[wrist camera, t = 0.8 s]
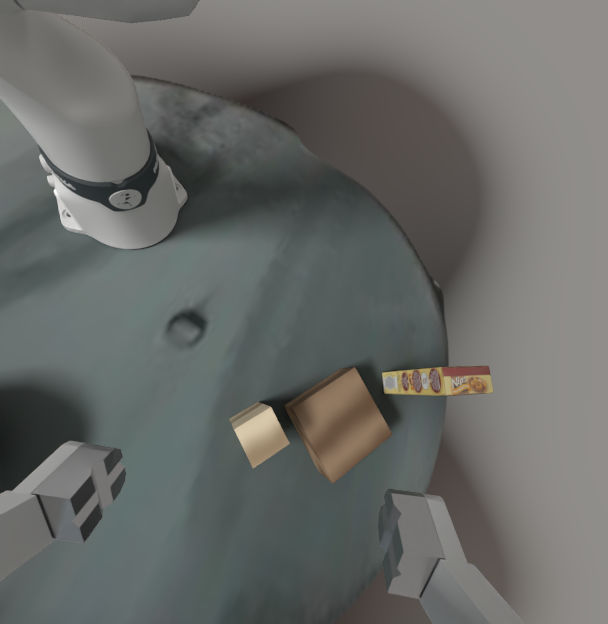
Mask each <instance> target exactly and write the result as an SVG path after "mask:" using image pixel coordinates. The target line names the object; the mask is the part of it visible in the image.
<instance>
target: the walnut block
mask: <svg viewBox="0 0 608 624" xmlns="http://www.w3.org/2000/svg"><path fill="white" fill-rule="evenodd" d="M284 407H285V409H286V411H287V413H288V415H289V417H290V419H291V420H292V422H293V424H294V426H295V428H296V430H297V432H298V433H299V435H300V437H301V439H302V441H303V443H304V445H305V447H306V448H307V450H308V452H309V454H310V456H311V458H312V460H313V462H314V463H315V465H316V467H317V469H318V471H319V472H320V473H321V474H322V475H323V476H324V477H326V478H327V479H328V480H329V481H331V482H332V483H334V482H336V481H337V480H338V479H339V478H340V477H342V476H343V475H344V474H345V473H346V472H348V471H349V470H350V469H351V468H352V467H354V466H355V465H356V464H357V463H358V462H360V461H361V460H362V459H363V458H364V457H366V456H367V455H368V454H369V453H370V452H372V451H373V450H374V449H375V448H376V447H378V446H379V445H380V444H381V443H383V442H384V441H385V440H386V439H387V438H389V437H390V436H391V435H392V433H391V431H390V429H389V427H388V425H387V424H386V422H385V420H384V418H383V416H382V415H381V413H380V411H379V409H378V407H377V406H376V404H375V402H374V400H373V399H372V397H371V395H370V393H369V391H368V390H367V388H366V386H365V384H364V382H363V381H362V379H361V377H360V375H359V373H358V372H357V370H356V368H355V367H353V368H344V369H339V370H338V371H336V372H335V373H333V374H332V375H330V376H329V377H327V378H326V379H324V380H322V381H321V382H319V383H318V384H316V385H315V386H313V387H312V388H310V389H309V390H307V391H306V392H304V393H302V394H301V395H299V396H298V397H296V398H295V399H293V400H292V401H290V402H289V403H287V404H285V405H284Z"/></svg>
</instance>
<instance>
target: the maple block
mask: <svg viewBox="0 0 608 624" xmlns="http://www.w3.org/2000/svg"><path fill="white" fill-rule="evenodd" d="M229 420H230V422H231V424H232V426H233V428H234V430H235V432H236V434H237V436H238V438H239V440H240V442H241V445H242V447H243V449H244V451H245V453H246V455H247V457H248V459H249V461H250V463H251V465H252V467H253V468H254V467H256V466H257V465H259V464H260V463H262V462H263V461H265V460H266V459H268V458H269V457H271V456H272V455H274V454H275V453H277V452H278V451H279V450H281V449H282V448H284V447H285V446H287V445H288V444H290V443H289V441H288V439H287V437H286V436H285V434H284V432H283V430H282V428H281V426H280V424H279V422H278V420H277V418H276V416H275V414H274V412H273V410H272V408H271V407H270V406H267V405H265V404H262V403H260V402H257V403H255V404H254V405H252V406H250V407H249V408H247V409H245V410H243V411H242V412H240V413H238V414H237V415H235V416H233V417H231V418H230V419H229Z"/></svg>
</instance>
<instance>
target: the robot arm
mask: <svg viewBox="0 0 608 624" xmlns="http://www.w3.org/2000/svg"><path fill="white" fill-rule="evenodd" d="M198 2H199V0H0V99H1V100H2V101H3V102H4V103H5V104H6V105H7V106H8V108H9V109H10V110H11V111H12V112H13V113H14V115H15V116H16V117H17V118H18V119H19V121H20V122H21V123H22V124H23V125H24V127H25V128H26V129H27V130H28V132H29V133H30V134H31V135H32V137H33V138H34V139H35V141H36V142H37V143H38V146H39V149H40V152H41V155H39V158H40V161H41V164H42V166H43V167H44V169H45V170H46V172H49V173H51V172H52V175H50V176H47V179H48V182H49V184H50V185H51V186H52V187H55V190H54V194H55V195H56V197H57V202H58V208H59V213H60V218H61V222H62V224H63V226H64V227H65V228H66V229H67V230H69V231H72V232H75V233H81V234H86V235H89V236H91V237H93V238H95V239H97V240H98V241H100V242H102V243H104V244H106V245H109V246H112V247H116V248H122V249H139V248H144V247H148V246H151V245H154V244H156V243H158V242H159V241H161V240H163V239H164V238H165V237H166V236H167V235H168V234H169V233H170V232H171V231H172V229H173V228H174V226H175V224H176V221H177V216H178V212H179V210H180V208H181V207H182V206H183V205H184V204H185V202H186V201H187V198H188V196H187V193H186V191H185V189H184V188H183V187H182V185H181V184H180V183H179V182H178V180H177V179H176V178H175V176H174V175H173V174H172V171H171V168H170V167H169V166H167V165H166V164H165V162H164V161H163V160H162V159H161V157H160V156H159V155H158V154H157V150H156V146H155V144H154V143H153V140H152V137H151V135H150V133H149V131H148V130H147V128H146V125H145V122H144V118H143V114H142V110H141V106H140V102H139V98H138V94H137V90H136V87H135V85H134V82H133V80H132V78H131V77H130V75H129V74H128V72H127V70H126V69H125V68H124V66H123V65H122V64H121V63H120V61H119V60H118V59H117V58H116V57H115V55H114V54H113V53H112V52H111V51H110V50H109V49H108V48H107V47H106V46H105V45H104V44H103V43H102V42H100V41H99V40H98V39H96V38H95V37H94V36H92V35H91V34H89V33H88V32H86V31H85V30H83V29H81V28H80V27H78V26H76V25H74V24H73V23H71V22H69V21H68V20H66V19H64V18H62V17H61V16H59V15H58V14H66V15H74V16H81V17H89V18H97V19H104V20H111V21H119V22H126V23H138V22H147V21H158V20H165V19H171V18H178V17H185V16H189V15H190V14H191V13H192V11H193V10H194V9H195V7H196V5H197V4H198ZM56 13H58V14H56ZM176 189H178V190H176ZM69 215H70V216H71V217H68V216H69ZM122 457H123V456H122V453H121V449H117V448H111V447H105V446H99V445H94V444H88V443H82V442H76V441H68V442H66V443H64V444H62V445H61V446H60V447H59V448H58V449H57V450H56V451H55V452H54V453H53V454H51V455H50V456H49V457H48V458H47V459H46V460H45V461H44V462H43V463H42V464H41V465H40V466H39V467H37V468H36V469H35V470H34V471H33V472H32V473H31V474H30V475H29V476H28V477H27V478H26V479H24V480H23V481H22V482H21V483H20V484H19V485H18V486H17V487H16V488H15V489H14V490H13V491H5V492H3V493H1V494H0V581H1V580H3V579H4V578H5V577H7V576H8V575H9V574H11V573H12V572H13V571H15V570H16V569H17V568H19V567H20V566H21V565H23V564H24V563H25V562H27V561H28V560H29V559H31V558H32V557H33V556H35V555H36V554H37V553H39V552H40V551H41V550H43V549H44V548H45V547H46V546H48V545H49V544H50V543H52V542H53V541H54V540H53V539H57V540H65V541H73V542H80V543H85V541H86V540H87V538H88V537H89V536H90V534H91V533H92V531H93V530H94V528H95V527H96V526H97V524H98V523H99V521H100V520H101V519H102V513H103V508H105V507H106V506H108V505H109V504H111V503H112V502H114V500H115V499H116V497H117V496H118V494H119V493H120V491H121V489H122V486H123V484H124V482H125V475H126V472H125V467H124V466H123V465H122V464H121V463H120V462H119V461H120V460H121V458H122ZM384 498H385V504H384V505H383V506H381V509H380V512H379V521H378V530H379V539H380V544H381V546H382V547H383V549H384V550H385V552H386V555H385V557H384V560H383V567H384V573H385V580H386V587H387V592H388V593H391V594H397V595H402V596H407V597H412V598H417V599H420V603H421V605H422V606H423V608H424V610H425V611H426V613H427V615H428V617H429V618H430V620H431V622H432V623H433V624H525V623H524V622H523V621H522V620H521V619H520V618H519V616H518V615H517V614H516V613H515V612H514V611H513V609H512V608H511V607H510V606H509V605H508V604H507V603H506V601H505V600H504V599H503V598H502V597H501V596H500V595H499V594H498V592H497V591H496V590H495V589H494V588H493V586H491V584H490V583H489V582H488V581H487V580H486V578H484V576H483V575H482V574H481V573H480V572H479V570H478V569H477V568H476V567H475V566H474V565H473V564H469V563H467V561H466V559H465V556H464V553H463V550H462V548H461V545H460V543H459V540H458V537H457V535H456V532H455V529H454V527H453V524H452V521H451V519H450V516H449V513H448V511H447V508H446V505H445V503H444V500H443V499H442V498H441V497H440V496H434V495H426V494H421V493H417V492H409V491H402V490H394V489H388V490H387V491H386V493H385V496H384Z"/></svg>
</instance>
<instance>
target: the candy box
mask: <svg viewBox="0 0 608 624" xmlns="http://www.w3.org/2000/svg"><path fill="white" fill-rule="evenodd" d="M382 377H383V386H384V393H385V394H406V395H436V396H456V395H471V394H485V393H493V386H492V381H491V375H490V370H489V366H457V367H435V368H423V369H412V370H402V371H392V372H382Z"/></svg>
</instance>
